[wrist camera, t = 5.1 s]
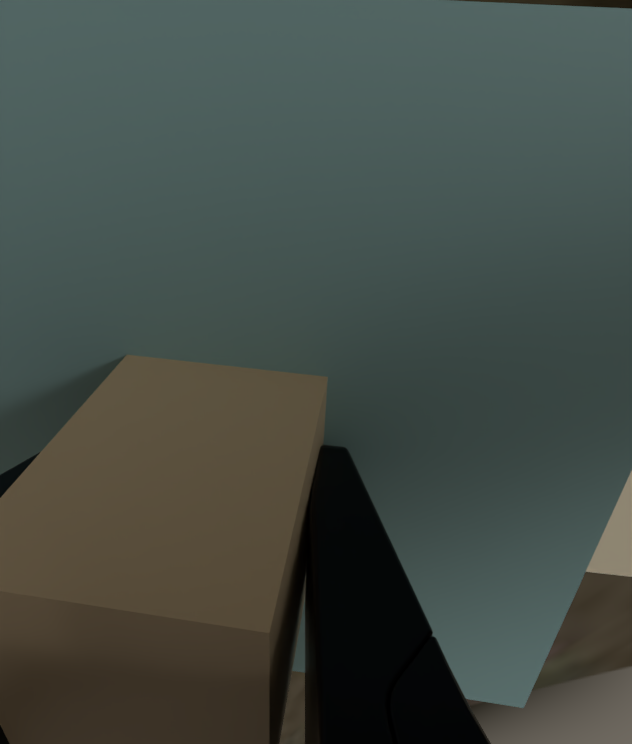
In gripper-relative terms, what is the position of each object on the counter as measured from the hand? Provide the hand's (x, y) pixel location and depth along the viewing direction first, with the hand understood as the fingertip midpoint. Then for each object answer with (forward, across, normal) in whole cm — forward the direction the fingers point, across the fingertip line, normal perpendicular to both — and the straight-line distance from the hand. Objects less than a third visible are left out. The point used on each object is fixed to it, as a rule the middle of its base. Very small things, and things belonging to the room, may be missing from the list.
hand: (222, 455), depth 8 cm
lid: (+1, 0, 0) cm, 1 cm away
